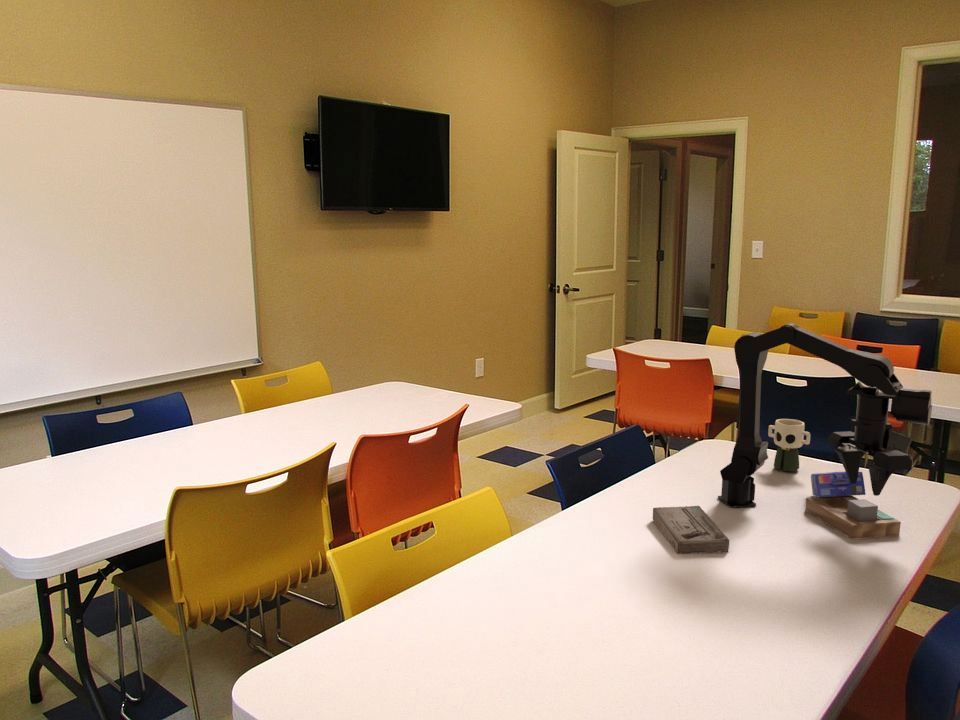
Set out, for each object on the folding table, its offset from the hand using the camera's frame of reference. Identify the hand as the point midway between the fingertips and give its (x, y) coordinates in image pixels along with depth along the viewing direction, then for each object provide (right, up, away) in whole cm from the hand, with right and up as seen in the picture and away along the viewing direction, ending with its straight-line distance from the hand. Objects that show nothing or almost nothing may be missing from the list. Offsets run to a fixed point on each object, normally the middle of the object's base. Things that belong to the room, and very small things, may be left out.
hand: (864, 489), depth 155 cm
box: (-37, -10, -1) cm, 39 cm away
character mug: (0, -2, +41) cm, 41 cm away
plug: (0, -9, +2) cm, 9 cm away
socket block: (-1, -8, +5) cm, 10 cm away
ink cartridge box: (+4, -2, +21) cm, 21 cm away
